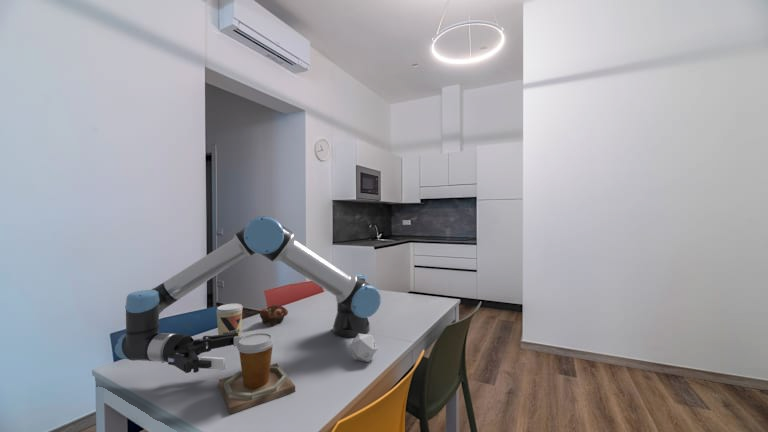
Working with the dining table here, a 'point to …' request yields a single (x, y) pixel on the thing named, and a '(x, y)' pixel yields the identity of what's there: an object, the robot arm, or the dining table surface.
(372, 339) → the die
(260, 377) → the disposable coffee cup
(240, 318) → the coffee cup
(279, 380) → the cup holder board
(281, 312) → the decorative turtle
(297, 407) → the dining table surface
